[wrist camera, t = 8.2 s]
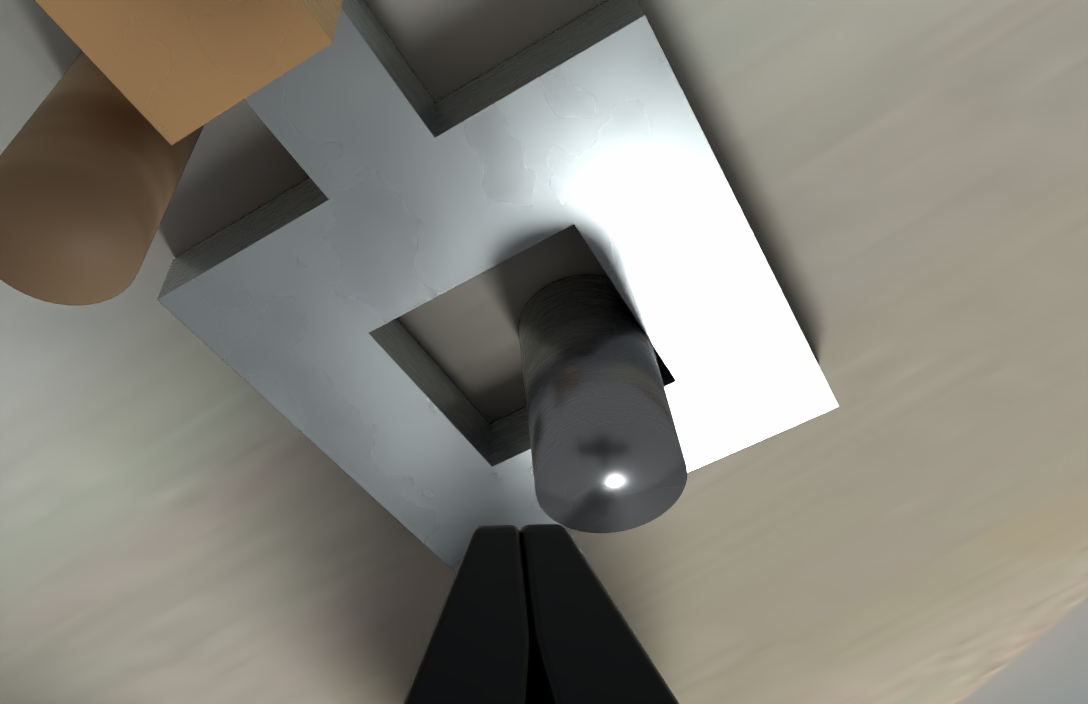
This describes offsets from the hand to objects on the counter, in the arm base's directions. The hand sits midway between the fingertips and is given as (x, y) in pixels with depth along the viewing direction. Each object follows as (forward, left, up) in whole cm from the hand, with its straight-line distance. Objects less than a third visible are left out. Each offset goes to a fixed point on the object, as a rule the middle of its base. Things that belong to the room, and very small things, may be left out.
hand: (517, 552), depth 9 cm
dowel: (+3, +6, -12) cm, 13 cm away
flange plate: (-3, +2, -12) cm, 12 cm away
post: (-7, +1, -12) cm, 13 cm away
